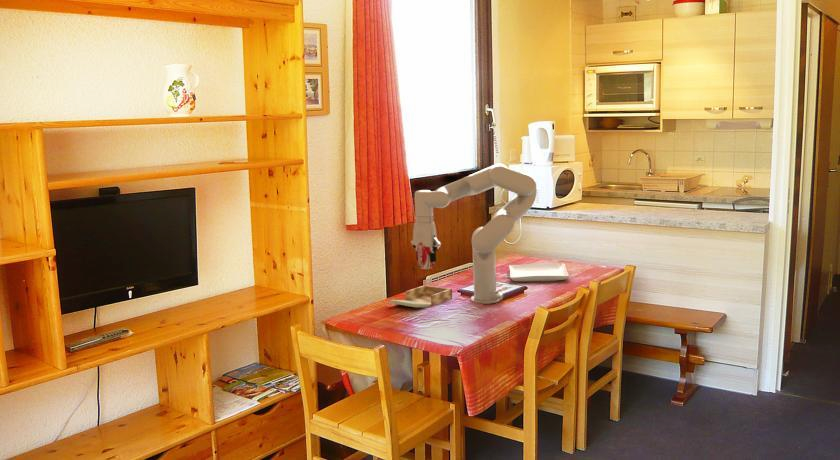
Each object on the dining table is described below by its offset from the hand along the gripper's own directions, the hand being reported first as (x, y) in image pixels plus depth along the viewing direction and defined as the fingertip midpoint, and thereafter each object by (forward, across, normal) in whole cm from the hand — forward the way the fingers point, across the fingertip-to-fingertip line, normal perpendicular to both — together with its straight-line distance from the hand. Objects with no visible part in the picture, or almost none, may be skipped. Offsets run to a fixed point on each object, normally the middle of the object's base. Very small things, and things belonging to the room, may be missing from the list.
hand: (426, 260), depth 328 cm
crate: (+18, 0, 0) cm, 18 cm away
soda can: (+3, 0, 0) cm, 3 cm away
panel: (+17, 0, -7) cm, 19 cm away
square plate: (+19, +16, +63) cm, 68 cm away
